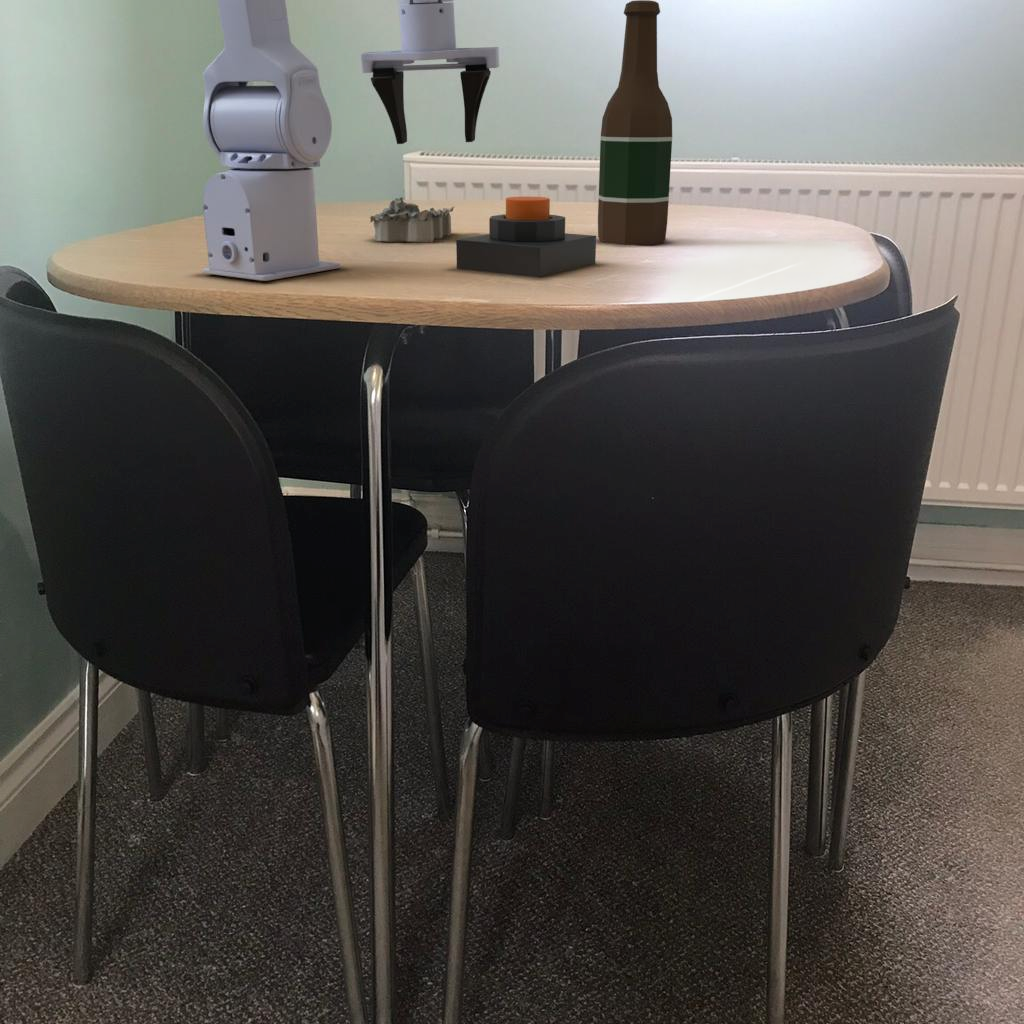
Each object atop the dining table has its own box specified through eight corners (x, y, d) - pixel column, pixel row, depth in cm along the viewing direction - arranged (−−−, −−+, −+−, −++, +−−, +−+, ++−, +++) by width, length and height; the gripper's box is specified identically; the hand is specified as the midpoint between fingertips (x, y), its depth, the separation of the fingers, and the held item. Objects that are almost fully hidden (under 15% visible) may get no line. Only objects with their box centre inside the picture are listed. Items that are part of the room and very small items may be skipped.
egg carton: (401, 232, 121) (400, 196, 120) (460, 234, 119) (460, 197, 118) (363, 241, 112) (362, 203, 110) (427, 244, 110) (426, 205, 108)
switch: (534, 224, 90) (534, 201, 90) (497, 222, 92) (497, 198, 92) (557, 221, 94) (557, 197, 93) (521, 218, 96) (521, 195, 95)
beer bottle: (589, 244, 110) (597, -2, 102) (604, 236, 117) (612, 5, 108) (660, 247, 108) (674, -4, 99) (671, 238, 115) (685, 4, 106)
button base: (539, 278, 88) (540, 225, 87) (456, 269, 93) (455, 218, 91) (595, 264, 96) (597, 215, 94) (516, 257, 101) (516, 210, 99)
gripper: (500, 0, 108) (506, 135, 114) (368, 6, 110) (381, 138, 116) (490, 0, 101) (497, 143, 108) (350, 7, 103) (364, 147, 110)
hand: (436, 142), depth 111 cm, fingers open, 7 cm apart
